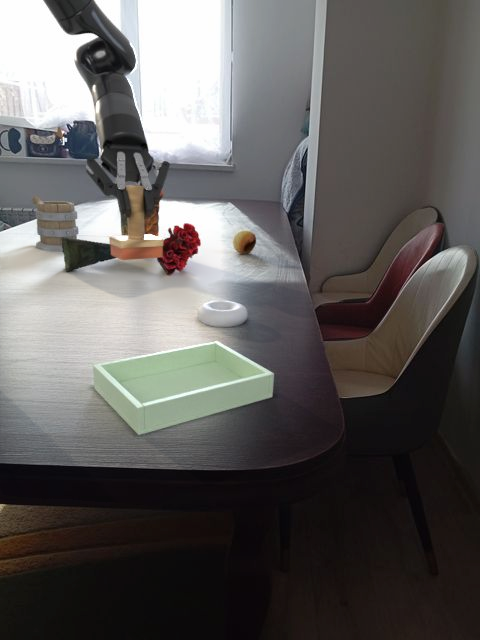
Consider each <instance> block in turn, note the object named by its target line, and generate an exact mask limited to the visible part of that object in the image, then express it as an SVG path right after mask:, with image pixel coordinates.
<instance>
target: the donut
mask: <svg viewBox="0 0 480 640" xmlns="http://www.w3.org/2000/svg"><path fill="white" fill-rule="evenodd" d="M196 315H197V318H198V321H200V322H201V323H202V324H204V325H206V326H210V327H214V328H215V327H216V328H233V327H238V326H241V325H242V324H244V323H245V322H246V321H247V320H248V317H249V314H248V309H247V308H246V307H245V306H244V304H241V303H239V302H236V301H231V300H210V301H207V302H204V303H202V304H201V305H199V307H198V308H197V313H196Z"/></svg>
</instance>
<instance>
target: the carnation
mask: <svg viewBox="0 0 480 640" xmlns="http://www.w3.org/2000/svg"><path fill="white" fill-rule="evenodd" d="M167 232H168V234H169V237H166V238H164V239H163V246H162V247H163V257H158V258H156V260H157V262H158V264H159V265H160V267H161V268H162V270H163V271H164V272H165V274H166V276H168V275H172V274H174V273H176V271H177V272H182V271H183V270H184V269H185V268H186V266H187V265H188V260H189V258H190V259H193V256H194V255H198V253H199V247H201V245H202V243H201V238H200V234H199V232H198V231H197V230H196V227H195V225H194V224H191V223H189V222H187V223H186V222H185V223H183V227H181V226H179V225H173V230H172V227H168V229H167ZM61 238H62V248H63V251H62V253H63V261H64V269H65V272H66V273H67V272H71V271H74V270H78V269H82V268H86V267H89V266H92V265H95V264H98V263H103V262H105V261H110V260H114V259H118V258H117V257H114V256H112V255H111V244H110V243H106V242H98V241H91V240H86V239H85V240H84V239H79V238H77V239H75V238H67V237H61Z"/></svg>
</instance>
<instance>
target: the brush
mask: <svg viewBox="0 0 480 640" xmlns="http://www.w3.org/2000/svg"><path fill="white" fill-rule="evenodd" d="M125 186H126V190H127V192H128V197H129V201H130V206H131V213H130V217H127V222H128V236H122V235H109V237H108V239H109V244H111V255H112V256H114V257H117V258H116V259H119V260H121V261H128V260H142V259H143V260H144V259H155V258H156V259H157V258H158V257H163V247H162V246H163V240H164V239H163V238H162V237H159V236H158V237H156V236H153V235H145V231H144V191H143V186H141V185H136V184H125Z"/></svg>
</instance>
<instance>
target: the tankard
mask: <svg viewBox="0 0 480 640" xmlns="http://www.w3.org/2000/svg"><path fill="white" fill-rule="evenodd" d="M30 202H31V204H33V205H36V210H35V211H34V212H35V219H36V232H37V233H36V234H37V235H38V236H39V238H40V240H39V241H37V242H36V243H35V247H36V248H37V249H40V250H43V251H56V252H57V251H59V252H63V248H62V238H61V237H67V238H75V239H78V237H77V235H79V226H77V223H76V220H77V219H78V211H77V210H76V208H75V203H74V202H71V201H59V200H47V201H46V200H45V201H44V200H43V201H42V200H41V199H40V197H39V196H38V195H34V196H33V197H32V198H31V199H30Z"/></svg>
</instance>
